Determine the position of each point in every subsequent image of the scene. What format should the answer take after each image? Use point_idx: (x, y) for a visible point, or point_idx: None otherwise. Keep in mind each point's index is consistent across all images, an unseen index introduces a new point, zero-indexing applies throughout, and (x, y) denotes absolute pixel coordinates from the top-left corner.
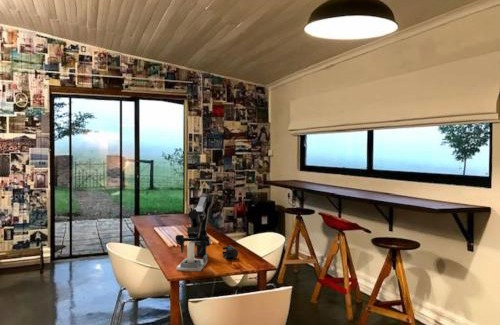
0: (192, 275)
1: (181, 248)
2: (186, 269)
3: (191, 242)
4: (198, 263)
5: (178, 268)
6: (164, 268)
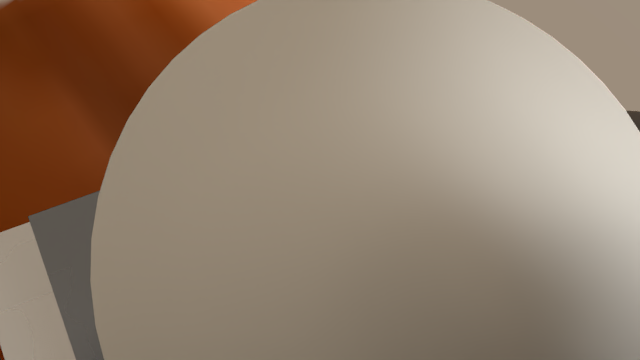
0: (3, 9)
1: (631, 117)
2: None
3: (392, 269)
4: (79, 356)
5: None
6: None
